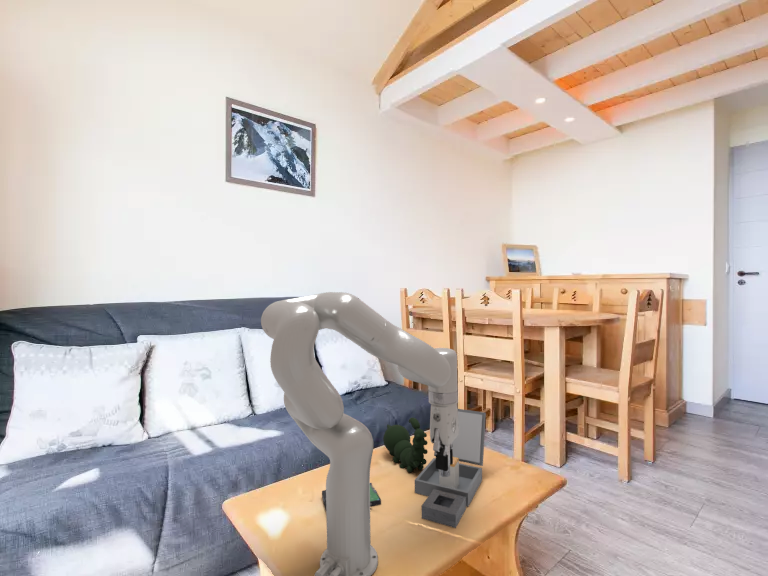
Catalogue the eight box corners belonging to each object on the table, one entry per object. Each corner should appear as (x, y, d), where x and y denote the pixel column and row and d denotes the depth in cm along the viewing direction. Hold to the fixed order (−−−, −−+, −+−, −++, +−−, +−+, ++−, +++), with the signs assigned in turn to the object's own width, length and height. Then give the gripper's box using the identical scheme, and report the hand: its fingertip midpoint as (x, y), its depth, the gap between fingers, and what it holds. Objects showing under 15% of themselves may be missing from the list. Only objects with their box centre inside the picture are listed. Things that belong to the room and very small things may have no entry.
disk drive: (328, 521, 101) (382, 509, 106) (327, 510, 101) (381, 498, 106) (321, 500, 111) (371, 489, 116) (321, 490, 111) (370, 480, 116)
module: (454, 491, 112) (454, 464, 111) (439, 488, 114) (439, 461, 114) (459, 484, 116) (458, 457, 115) (444, 481, 118) (444, 454, 118)
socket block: (455, 531, 95) (455, 515, 95) (421, 521, 99) (421, 505, 99) (465, 511, 103) (465, 496, 103) (433, 503, 107) (433, 488, 107)
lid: (484, 412, 121) (485, 412, 122) (437, 405, 129) (438, 405, 130) (481, 466, 118) (483, 465, 119) (433, 456, 125) (434, 455, 126)
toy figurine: (433, 480, 123) (398, 444, 146) (435, 423, 121) (399, 395, 144) (407, 487, 119) (375, 448, 142) (409, 428, 117) (376, 398, 140)
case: (468, 509, 104) (468, 493, 104) (414, 495, 111) (414, 480, 111) (482, 482, 118) (482, 468, 118) (433, 471, 125) (433, 457, 125)
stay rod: (448, 477, 99) (447, 439, 99) (437, 475, 101) (436, 437, 100) (451, 472, 102) (451, 434, 102) (441, 470, 103) (440, 433, 103)
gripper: (446, 407, 92) (448, 484, 92) (465, 389, 106) (467, 456, 107) (417, 403, 95) (419, 477, 96) (439, 386, 110) (441, 451, 110)
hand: (444, 465), depth 101 cm, fingers closed on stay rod, 3 cm apart
